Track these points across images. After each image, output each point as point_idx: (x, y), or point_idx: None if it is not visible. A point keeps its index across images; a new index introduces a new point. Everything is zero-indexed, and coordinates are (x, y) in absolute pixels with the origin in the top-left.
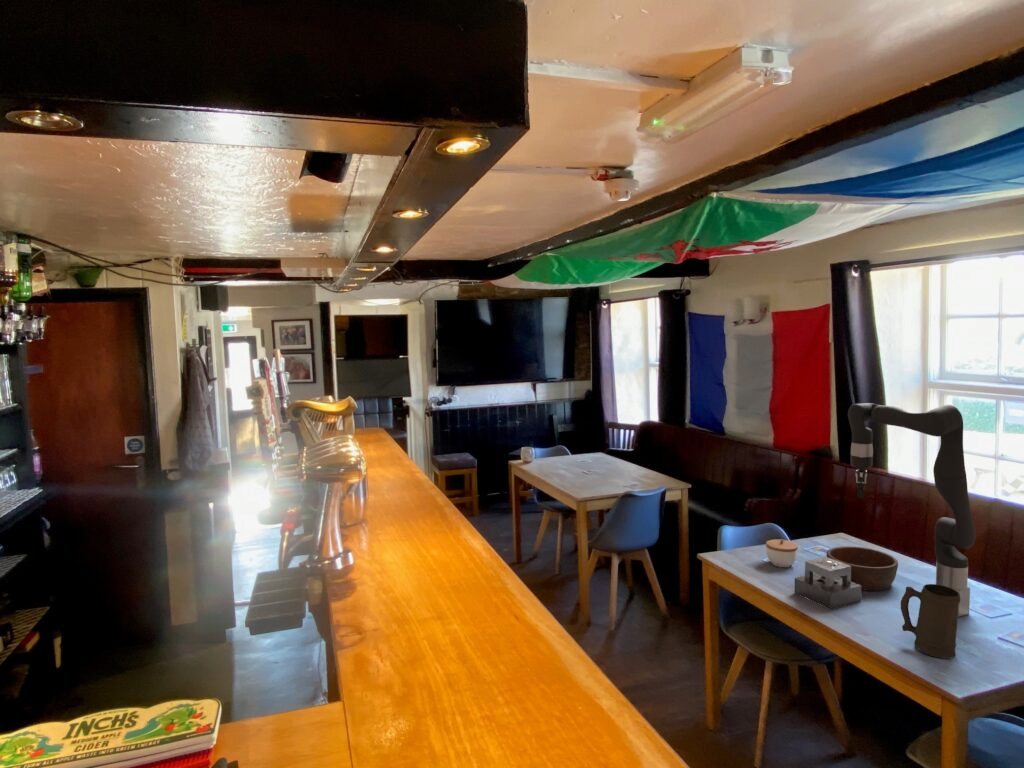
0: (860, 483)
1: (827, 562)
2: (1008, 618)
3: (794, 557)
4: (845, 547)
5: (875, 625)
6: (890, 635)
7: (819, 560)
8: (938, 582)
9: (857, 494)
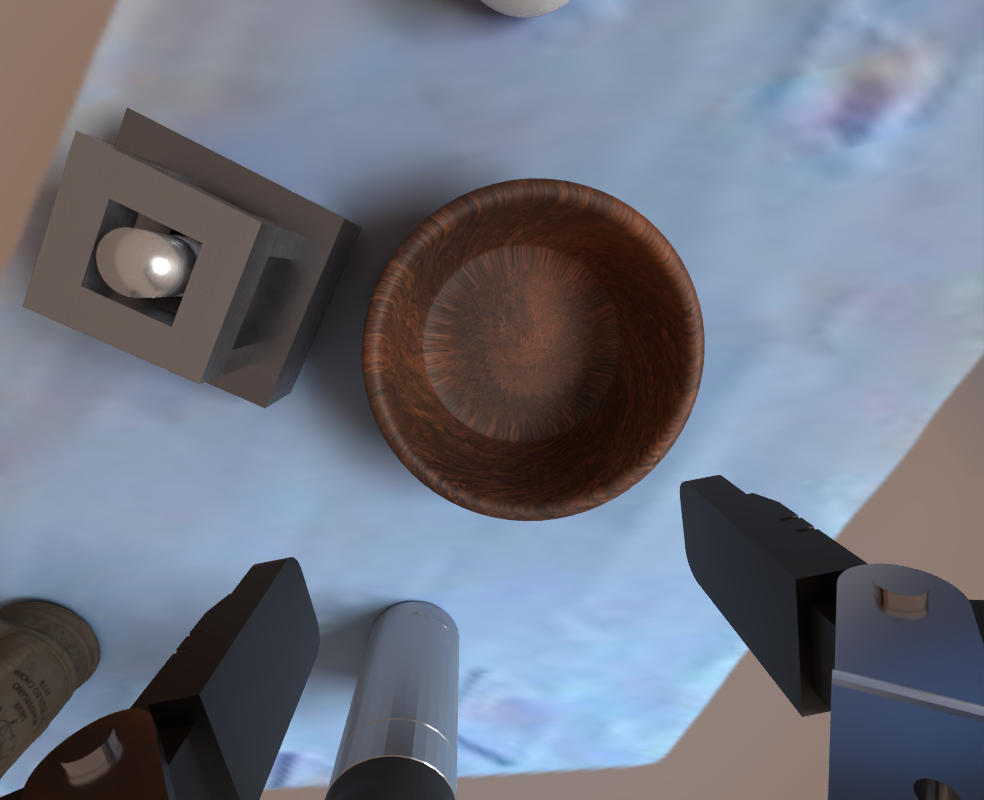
0: (806, 638)
1: (105, 267)
2: (463, 762)
3: (502, 5)
4: (656, 255)
5: (98, 476)
6: (53, 528)
7: (163, 206)
8: (363, 692)
9: (236, 589)
